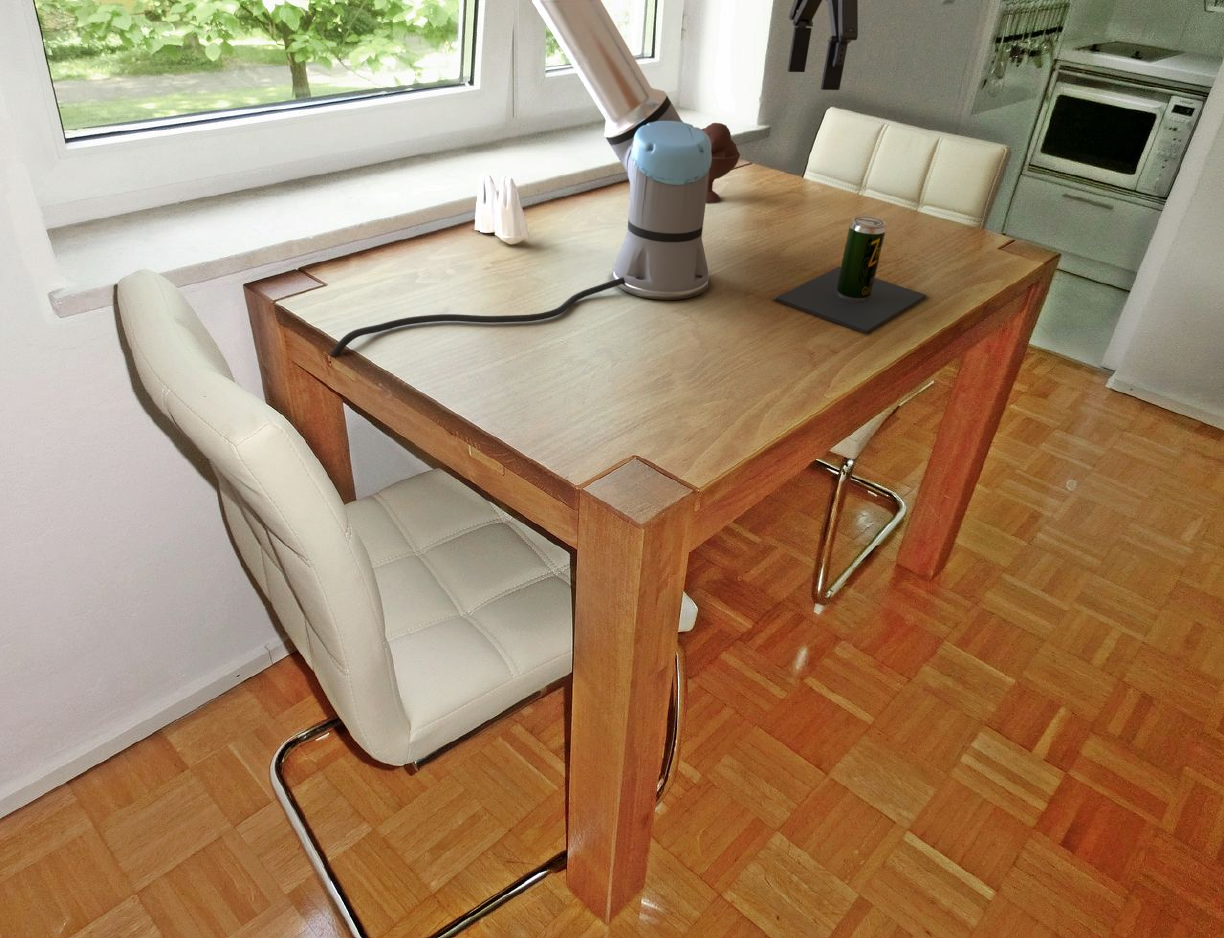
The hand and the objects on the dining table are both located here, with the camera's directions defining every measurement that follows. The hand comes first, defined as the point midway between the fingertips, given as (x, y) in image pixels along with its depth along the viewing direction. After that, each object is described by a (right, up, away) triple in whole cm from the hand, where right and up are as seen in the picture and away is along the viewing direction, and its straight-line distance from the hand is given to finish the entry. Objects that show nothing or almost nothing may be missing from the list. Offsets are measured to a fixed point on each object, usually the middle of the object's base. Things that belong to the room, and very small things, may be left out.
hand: (812, 80), depth 141 cm
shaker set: (-51, -21, +16) cm, 57 cm away
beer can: (+7, -34, +1) cm, 35 cm away
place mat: (+6, -34, +1) cm, 35 cm away
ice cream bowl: (-12, -6, +41) cm, 43 cm away
